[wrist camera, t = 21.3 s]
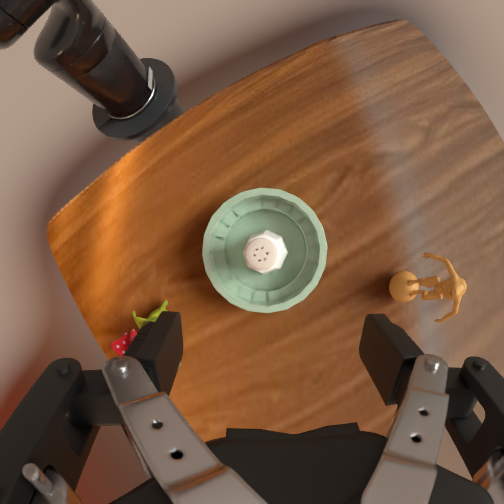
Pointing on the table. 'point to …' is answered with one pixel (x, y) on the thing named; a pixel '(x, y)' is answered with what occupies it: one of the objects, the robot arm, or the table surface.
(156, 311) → the bird rattle
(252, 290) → the bowl
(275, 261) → the pepper shaker
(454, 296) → the figurine
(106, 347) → the table surface
